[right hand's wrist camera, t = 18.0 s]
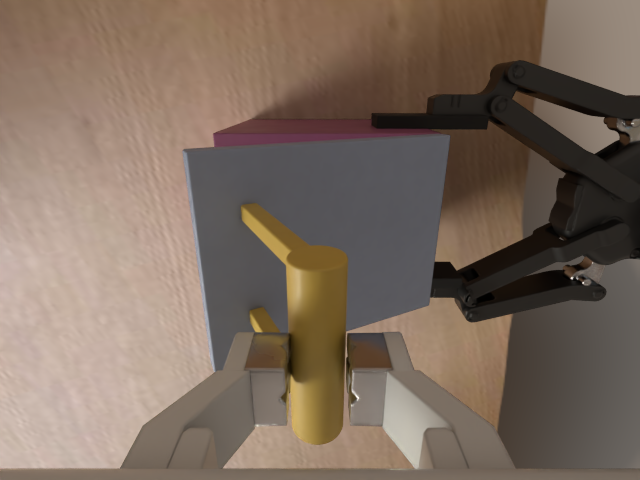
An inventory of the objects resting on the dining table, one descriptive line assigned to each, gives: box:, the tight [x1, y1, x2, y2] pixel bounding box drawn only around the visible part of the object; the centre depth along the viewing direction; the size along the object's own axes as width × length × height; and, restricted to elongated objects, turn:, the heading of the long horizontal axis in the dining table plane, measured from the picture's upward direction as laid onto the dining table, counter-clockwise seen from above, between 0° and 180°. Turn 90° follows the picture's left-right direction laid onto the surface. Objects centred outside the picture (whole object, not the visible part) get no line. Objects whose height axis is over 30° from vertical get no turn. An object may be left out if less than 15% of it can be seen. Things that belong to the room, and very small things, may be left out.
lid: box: [183, 134, 450, 445], centre depth 15 cm, size 13×10×8 cm
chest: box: [213, 119, 441, 147], centre depth 26 cm, size 12×10×11 cm
